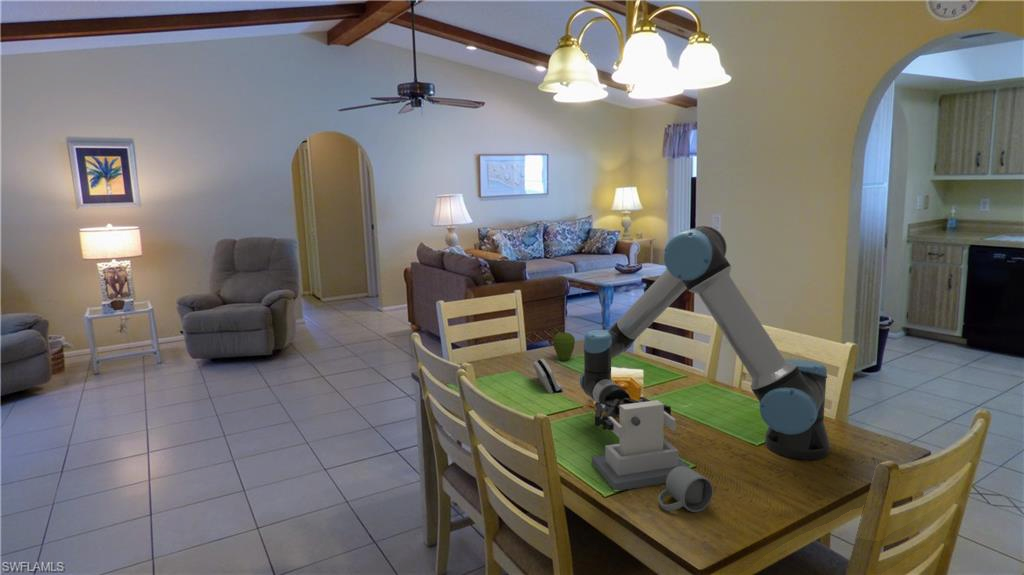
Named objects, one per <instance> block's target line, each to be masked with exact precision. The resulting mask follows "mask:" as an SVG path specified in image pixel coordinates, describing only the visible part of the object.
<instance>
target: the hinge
mask: <svg viewBox="0 0 1024 575" xmlns="http://www.w3.org/2000/svg"><path fill="white" fill-rule="evenodd" d="M532 366H533V368H534V370H535V372H536V375H537V378H538V379H540V380H539V381H540V382H541V384H542V383H543V384H542V385H543V387H544V386H545V387H544V388H545V389H546V391H547V390H548V391H547V392H548V393H549V394H550V393H551V394H554V392H555V391H556V392H558V391H561V392H562V393H565V391H564V388H563V386H562V385H561V384H560V383H559V382H558V381H557V379H556V378H555V375H554V372H553V371H552V369H551V367H550V365H549V364H548V363H547V361H546V360H545V359H544V358H540V359H538V360H535V361H533V362H532Z"/></svg>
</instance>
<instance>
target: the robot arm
mask: <svg viewBox="0 0 1024 575" xmlns="http://www.w3.org/2000/svg"><path fill="white" fill-rule="evenodd" d="M726 254H727V242H726V239H725V237H724V236H723V234H722V233H721V232H720V231H718V230H717V229H716V228H713V227H712V226H705V225H702V226H696V227H693V228H690V229H684V230H682V231H680V232H677V234H675V235H674V236H672V237H671V238H670V239H669V240H668V242H667V243H666V245H665V248H664V252H663V261H664V265H665V267H666V269H665V270H664V271H663V272H662V273H661V275H659V277H658V278H657V279H656V280H655V281H654V282H653V283H652V284H651V285H650V286H649V287H648V289H646V290H645V292H643V294H641V296H640V297H638V299H637V300H636V301H635V302H634V303H633V304H632V305H631V306H630V307H629V309H628V310H626V311H625V313H624V314H622V315H621V317H620V318H619V319H618V320H617V322H615V323H614V324H613V325H612V326H611V327H610V328H609V329H608V330H603V329H592V330H589V331H587V332H586V333H585V334H584V340H583V353H584V354H583V356H584V357H583V358H584V359H583V360H584V370H583V372H582V373H581V375H580V377H579V385H580V387H581V390H583V392H584V393H585V394H586V395H587V396H588V397H589V398H591V399H592V400H593V401H594V402H595V403H594V413H595V414H594V427H596V428H598V427H600V426H602V430H604V431H606V430H608V431H611V432H612V433H614V435H616V437H617V438H618V439H620V438H622V426H621V425H620V422H618V421H617V420H616V418H617V417H619V416H620V405H624V404H631V403H639V402H647V401H651V400H650V399H647V398H645V397H644V396H640V397H639V400H635V399H633V398H631V396H630V395H629V393H628V391H626V390H625V389H624V388H622V387H621V386H620V384H618V383H616V382H615V381H614V380H612V360H613V359H615V357H618V356H619V355H621V353H624V352H626V351H628V350H629V349H630V348H631V347H632V346H633V344H634V342H635V341H636V340H637V339H638V338H639V337H640V336H641V335H642V334H643V333H644V332H645V331H646V330H647V329H648V328H649V327H650V326H651V325H652V324H653V323H654V322H655V320H657V318H659V317H660V316H661V315H662V314H663V313H664V311H666V310H667V308H669V306H671V305H672V304H673V303H674V302H675V301H676V299H678V298H679V297H680V296H681V294H683V293H684V292H685V291H686V290H688V292H690V293H694V294H697V295H698V296H699V297H700V300H702V303H703V304H704V305H705V307H706V309H707V310H708V311H709V313H710V315H711V316H712V318H713V320H714V321H715V323H716V324H717V326H718V328H719V329H720V330H721V332H722V334H723V335H724V337H725V339H727V342H728V343H729V344H730V346H731V347H732V349H733V351H734V352H735V354H736V355H737V357H738V359H739V360H740V362H741V364H742V365H743V366H744V368H745V369H746V371H747V372H748V374H749V375H750V377H751V384H750V389H751V391H752V392H753V395H754V396H755V397H756V398H757V400H758V402H759V413H760V416H761V419H762V420H763V421H764V423H765V424H766V425H767V427H768V428H767V430H766V432H765V439H764V443H765V446H766V448H768V449H769V450H770V451H771V452H773V453H776V454H778V455H781V456H783V457H787V458H791V459H796V460H803V461H804V460H805V461H807V460H809V461H811V460H812V461H813V460H820V459H824V458H825V457H827V456H828V455H829V454H830V449H831V447H830V446H831V443H830V439H829V436H828V432H827V429H826V426H825V422H824V419H825V418H824V417H825V407H826V406H825V404H826V403H825V402H826V389H827V388H826V387H827V378H828V374H827V367H826V365H824V364H822V363H820V362H816V361H811V360H806V359H799V358H798V359H797V358H795V359H794V358H784V357H783V355H782V353H781V352H780V350H779V349H778V348H777V346H776V344H775V343H774V342H773V339H772V338H771V337H770V335H769V333H768V332H767V331H766V329H765V327H764V326H763V325H762V323H761V321H760V320H759V318H758V317H757V315H756V314H755V313H754V311H753V309H752V308H751V306H750V304H748V302H747V300H746V299H745V297H744V296H743V294H742V293H741V291H740V289H739V288H738V286H737V285H736V284H735V282H734V280H733V278H732V277H731V268H732V266H731V264H730V262H729V261H728V259H727V258H726ZM604 412H605V413H604ZM602 414H603V416H602ZM676 421H677V420H676V418H674V417H673V415H672V407H671V406H669V405H666V404H664V424H663V425H665V426H666V427H667V428H669V429H670V430H671V431H676Z"/></svg>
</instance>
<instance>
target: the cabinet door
mask: <svg viewBox="0 0 1024 575" xmlns="http://www.w3.org/2000/svg"><path fill="white" fill-rule="evenodd" d="M664 405H665V404H664V403H663V402H661V401H660V400H658V399H656V400H650V401H647V402H639V403H631V404H624V405H620V415H619V424H620V425H621V426H622V438H619V444H620V449H619V455H620V456H621V457H623V456H629V455H636V454H643V453H649V452H656V451H663V438H664V425H665V424H664Z"/></svg>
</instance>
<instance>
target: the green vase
mask: <svg viewBox="0 0 1024 575" xmlns="http://www.w3.org/2000/svg"><path fill="white" fill-rule="evenodd" d="M552 342H553V343H552V344H553V348H554V351H555V353H556V356H557V357H558V358H559V360H560V361H562V362H566V361H568V360H569V359H570V358H571V356H572V355H573V352H574V348H575V342H576V338H575V337H574V335H573V334H572V333H570V332H564V331H563V332H558V333H556V334H555V335H554V336H553V339H552Z"/></svg>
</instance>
